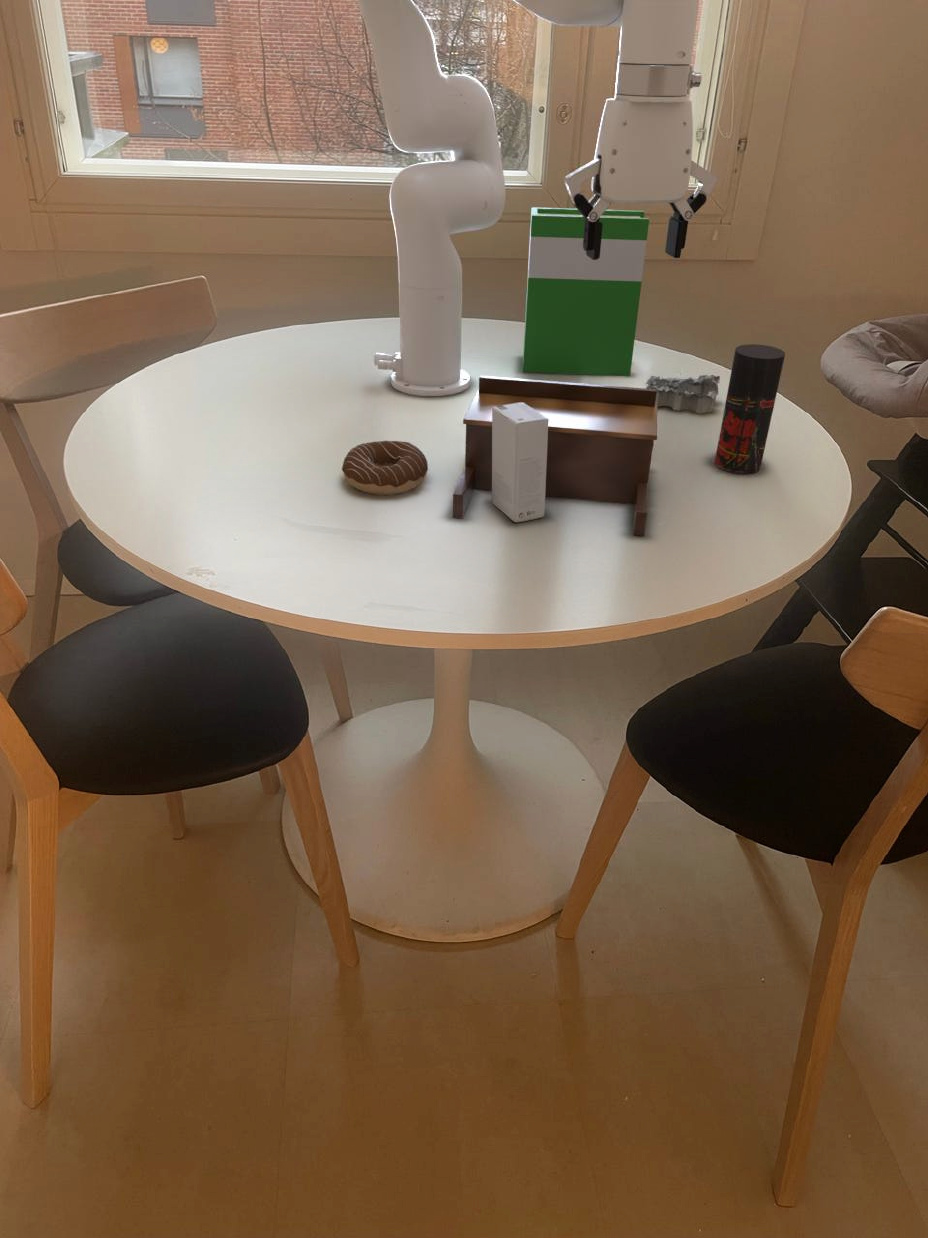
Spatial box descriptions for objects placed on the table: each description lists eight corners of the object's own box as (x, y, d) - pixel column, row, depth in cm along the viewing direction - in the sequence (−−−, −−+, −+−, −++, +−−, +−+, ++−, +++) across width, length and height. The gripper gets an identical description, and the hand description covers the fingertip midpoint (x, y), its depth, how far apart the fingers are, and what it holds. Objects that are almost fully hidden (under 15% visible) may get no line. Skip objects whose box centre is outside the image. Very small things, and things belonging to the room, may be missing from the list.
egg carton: (719, 401, 139) (724, 375, 137) (709, 417, 134) (714, 390, 131) (651, 390, 143) (655, 364, 141) (639, 405, 137) (643, 378, 135)
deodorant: (708, 456, 121) (728, 344, 113) (751, 455, 122) (774, 343, 113) (722, 474, 116) (745, 358, 108) (767, 473, 117) (792, 358, 109)
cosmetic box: (545, 517, 105) (553, 418, 98) (512, 524, 103) (517, 423, 97) (520, 496, 110) (526, 399, 103) (487, 502, 108) (491, 405, 101)
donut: (422, 461, 118) (422, 432, 116) (434, 497, 109) (434, 466, 107) (340, 466, 116) (338, 436, 114) (345, 502, 107) (343, 471, 105)
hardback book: (625, 362, 155) (643, 210, 141) (630, 376, 148) (649, 218, 135) (523, 358, 155) (531, 207, 142) (522, 372, 149) (531, 215, 136)
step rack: (449, 517, 105) (451, 427, 99) (475, 456, 120) (477, 374, 114) (646, 536, 102) (660, 444, 96) (647, 471, 117) (659, 388, 111)
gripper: (715, 83, 99) (691, 248, 109) (562, 81, 97) (552, 251, 106) (744, 87, 93) (716, 261, 102) (582, 85, 90) (568, 265, 100)
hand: (632, 256), depth 104 cm, fingers open, 9 cm apart
